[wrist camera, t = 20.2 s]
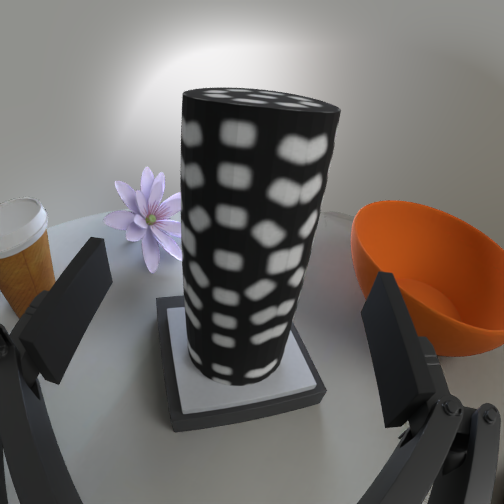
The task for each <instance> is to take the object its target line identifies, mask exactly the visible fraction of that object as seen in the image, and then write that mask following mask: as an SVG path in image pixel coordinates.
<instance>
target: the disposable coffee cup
mask: <svg viewBox="0 0 504 504" xmlns="http://www.w3.org/2000/svg"><path fill="white" fill-rule="evenodd" d="M47 221H48V213H47V211H46V209H44V208H43V206H42V204H41V202H40V201H39V200H38V199H36V198H32V197H21V198H15V199H11V200H8V201H5V202H3V203H0V290H1V292H2V293H3V295H4V297H5V298H6V300H7V301H8V303H9V304H10V306H11V307H12V309H13V310H14V312H15V313H16V315H17V316H18V318H21V316H22V315H23V313H25V311H26V309H27V308H28V307H29V305H30V303H31V302H32V301H33V299H34V298H35V297H36V296H37V295H38V294H39V293H41V292H42V291H43V290H46V291H50V289H51V288H52V286H53V285H54V284H55V277H54V272H53V266H52V261H51V255H50V249H49V242H48V235H47Z"/></svg>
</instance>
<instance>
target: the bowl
mask: <svg viewBox="0 0 504 504" xmlns="http://www.w3.org/2000/svg"><path fill="white" fill-rule="evenodd" d="M351 253H352V260H353V266H354V270H355V273H356V277H357V280H358V282H359V285H360V288H361V290H362V292H363V294H364V296H365V298H366V300H367V298H368V295H369V293H370V291H371V288H372V286H373V283H374V281H375V279H376V276H377V274H378V271H381V272H390V273H393V275H394V278H395V280H396V282H397V285H398V287H399V289H400V292H401V294H402V297H403V299H404V301H405V304H406V306H407V309H408V311H409V314H410V317H411V319H412V322H413V324H414V327H415V330H416V332H417V335H418V336H424V337H427V338H428V340H429V341H430V342H431V343H432V345H433V347H434V349H435V352H436V355H440V356H451V357H460V356H471V355H476V354H481V353H484V352H487V351H490V350H493V349H495V348H497V347H499V346H501V345H503V344H504V250H503V249H502V248H501V247H500V246H499V245H498V244H496V243H495V242H494V241H493V240H492V239H490V238H489V237H488V236H486V235H485V234H484V233H482V232H481V231H479V230H478V229H476V228H474V227H473V226H471V225H469V224H468V223H466V222H464V221H462V220H461V219H458V218H456V217H454V216H452V215H450V214H448V213H445V212H443V211H440V210H437V209H434V208H432V207H428V206H425V205H421V204H417V203H412V202H406V201H390V200H388V201H379V202H374V203H371V204H369V205H366V206H365V207H363V208H362V209H360V210H359V212H358V213H357V215H356V216H355V218H354V220H353V224H352V231H351Z"/></svg>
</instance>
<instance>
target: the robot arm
mask: <svg viewBox="0 0 504 504" xmlns="http://www.w3.org/2000/svg"><path fill="white" fill-rule="evenodd" d="M112 283H113V281H112V277H111V272H110V268H109V263H108V258H107V253H106V248H105V242H104V239H103V238H95V237H90V239H89V240H88V241H87V242H86V243H85V245H84V246H83V247H82V248H81V250H80V251H79V252H78V253H77V255H76V256H75V257H74V259H73V260H72V261H71V262H70V264H69V265H68V266H67V268H66V269H65V270H64V272H63V273H62V274H61V276H60V277H59V278H58V280H57V281H56V282H55V284H54V285H53V286H52V288H51V289H50V291H46V290H43V291H42V292H41V293H39V294H38V295H37V296H36V297H35V298H34V299H33V301H32V302H31V303H30V305H29V307H28V308H27V309H26V311H25V313H23V315H22V316H21V318H20V319H19V321H18V322H17V324H16V325H15V327H14V328H13V330H12V332H11V333H10V335H9V334H8V332H7V330H6V329H5V327H4V326H3V325H2V324H0V504H8V500H7V493H6V484H5V474H4V462H3V449H4V453H5V457H6V461H7V464H8V468H9V471H10V475H11V478H12V481H13V484H14V487H15V490H16V493H17V496H18V499H19V501H20V504H83V503H82V501H81V499H80V497H79V494H78V492H77V490H76V488H75V486H74V484H73V481H72V479H71V477H70V474H69V472H68V470H67V467H66V465H65V462H64V460H63V457H62V454H61V452H60V449H59V446H58V444H57V441H56V438H55V435H54V432H53V429H52V426H51V423H50V420H49V416H48V413H47V409H46V406H45V402H44V399H43V395H42V391H41V387H40V383H39V381H38V379H37V376H38V374H39V372H40V373H41V374H42V376H43V377H44V379H45V380H47V381H50V382H53V383H55V384H58V385H59V384H60V382H61V380H62V378H63V375H64V373H65V371H66V369H67V367H68V365H69V363H70V361H71V359H72V357H73V355H74V353H75V351H76V349H77V347H78V345H79V343H80V341H81V339H82V337H83V335H84V333H85V331H86V329H87V328H88V326H89V324H90V322H91V320H92V318H93V316H94V315H95V313H96V311H97V309H98V307H99V305H100V304H101V302H102V300H103V298H104V297H105V295H106V293H107V291H108V290H109V288H110V286H111V284H112ZM361 315H362V319H363V323H364V327H365V331H366V335H367V340H368V344H369V348H370V353H371V357H372V362H373V366H374V371H375V376H376V380H377V385H378V390H379V396H380V401H381V406H382V412H383V417H384V423H385V428H390V427H401V426H402V425H403V424H405V423H406V422H407V421H408V420H409V425H410V427H409V428H408V429H407V430H406V431H405V432H403V433H402V434H401V435H400V436H399V437H398V438H399V439H401V438H402V439H401V441H400V442H399V444H398V446H397V447H396V449H395V450H394V452H393V454H392V455H391V457H390V458H389V460H388V461H387V463H386V464H385V466H384V467H383V469H382V470H381V472H380V473H379V475H378V476H377V477H376V479H375V480H374V482H373V483H372V484H371V486H370V487H369V489H368V490H367V491H366V493H365V494H364V495H363V496H362V498H361V499H360V500H359V502H358V503H357V504H422V502H423V501H424V499H425V497H426V495H427V494H428V492H429V490H430V488H431V486H432V484H433V487H432V490H431V494H430V497H429V500H428V504H491V499H492V494H493V488H494V482H495V476H496V469H497V461H498V451H499V440H500V424H501V419H500V414H499V411H498V410H497V408H496V407H495V406H494V405H492V404H489V403H486V404H483V405H482V406H481V407H479V408H478V409H473V408H469V407H464V406H463V405H462V403H461V402H460V400H459V399H458V398H457V397H455V396H453V395H450V392H449V390H448V386H447V383H446V380H445V377H444V374H443V371H442V369H441V366H440V365H439V364H440V363H439V360H438V357H436V356H437V355H436V352H435V349H434V347H433V345H432V343H431V342H430V341H429V340H428V338H427V337H424V336H418V335H417V332H416V330H415V327H414V324H413V322H412V319H411V317H410V314H409V311H408V309H407V306H406V304H405V301H404V299H403V297H402V294H401V292H400V289H399V287H398V285H397V282H396V280H395V278H394V275H393V273H390V272H381V271H378V274H377V276H376V279H375V281H374V283H373V286H372V288H371V291H370V293H369V295H368V298H367V300H366V302H365V304H364V307H363V309H362V311H361Z"/></svg>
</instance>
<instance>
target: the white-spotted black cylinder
mask: <svg viewBox="0 0 504 504" xmlns="http://www.w3.org/2000/svg"><path fill="white" fill-rule="evenodd" d="M340 112H341V110H340V109H339V108H338V107H336V106H334V105H332V104H329V103H326V102H323V101H320V100H316V99H312V98H308V97H303V96H299V95H294V94H289V93H282V92H276V91H268V90H258V89H245V88H203V89H194V90H189V91H185V92H184V93H183V101H182V126H181V127H182V128H181V238H182V266H183V286H184V303H185V318H186V331H187V343H188V352H189V356H190V358H191V361H192V363H193V364H194V365H195V367H196V368H197V369H198V370H199V371H200V372H201V373H202V374H203V375H204V376H206V377H208V378H209V379H211V380H213V381H216V382H218V383H221V384H225V385H230V386H245V385H252V384H255V383H258V382H260V381H262V380H264V379H266V378H268V377H269V376H270V375H271V374H273V373H274V372H275V371H276V369H277V368H278V366H279V365H280V363H281V360H282V358H283V354H284V351H285V347H286V344H287V340H288V337H289V333H290V330H291V326H292V323H293V319H294V315H295V312H296V308H297V304H298V301H299V297H300V293H301V289H302V285H303V282H304V278H305V274H306V270H307V266H308V262H309V258H310V254H311V250H312V245H313V241H314V237H315V233H316V229H317V224H318V220H319V216H320V211H321V207H322V202H323V197H324V192H325V188H326V184H327V179H328V174H329V169H330V164H331V159H332V154H333V149H334V144H335V139H336V133H337V128H338V123H339V117H340Z"/></svg>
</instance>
